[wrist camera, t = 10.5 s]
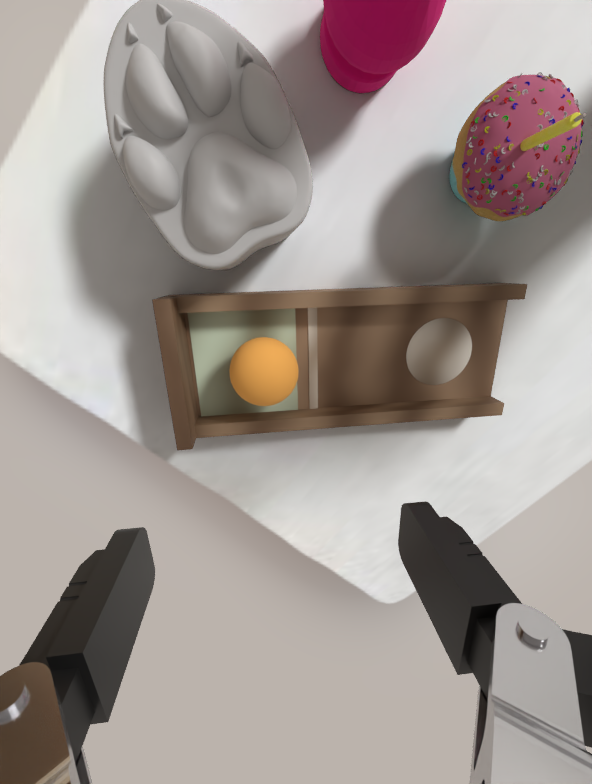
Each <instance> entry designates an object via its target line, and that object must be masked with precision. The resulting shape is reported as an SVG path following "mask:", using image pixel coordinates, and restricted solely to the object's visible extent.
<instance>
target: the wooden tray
mask: <svg viewBox="0 0 592 784" xmlns="http://www.w3.org/2000/svg"><path fill="white" fill-rule="evenodd" d="M526 288H527V284H511V283H491V284H463V285H435V286H407V287H379V288H351V289H323V290H295V291H267V292H239V293H211V294H183V295H168V296H164V297H160V298H157V299H153V300H152V301H153V307H154V313H155V319H156V325H157V331H158V337H159V343H160V349H161V355H162V361H163V367H164V373H165V379H166V385H167V391H168V397H169V403H170V409H171V415H172V421H173V427H174V433H175V439H176V445H177V450H187V449H192V448H193V446H194V443H195V440H196V438H202V437H215V436H229V435H242V434H255V433H269V432H282V431H295V430H309V429H322V428H335V427H348V426H362V425H375V424H388V423H402V422H415V421H428V420H442V419H455V418H468V417H482V416H495V415H502V412H503V407H504V403H502V402H501V401H499V400H497V399H495V398H493V397H491V391H492V385H493V379H494V374H495V368H496V363H497V357H498V351H499V346H500V340H501V335H502V329H503V323H504V318H505V312H506V306H507V301H508V300H513V299H525V293H526ZM259 337H268V338H273V339H276V340H279V341H281V342H282V343H284V344H285V345H286V346H288V348H289V349H290V350H291V351H292V352H293V354H294V356H295V358H296V360H297V364H298V370H299V373H298V380H297V383H296V386H295V388H294V390H293V391H292V393H291V394H290V395H289V396H288V397H287V398H286V399H284V400H283V401H281V402H280V403H277V404H275V405H271V406H258V405H254V404H251V403H249V402H247V401H245V400H244V399H242V398H241V397H240V396H239V395H238V394H237V392H236V391H235V389H234V388H233V386H232V383H231V380H230V373H229V369H230V363H231V360H232V357H233V355H234V354H235V352H236V351H237V349H238V348H239V347H240V346H241V345H242V344H244V343H245V342H247V341H249V340H251V339H254V338H259Z"/></svg>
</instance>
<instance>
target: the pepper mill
mask: <svg viewBox="0 0 592 784" xmlns="http://www.w3.org/2000/svg"><path fill="white" fill-rule="evenodd" d="M323 1H324V14H323V18H322V22H321V29H320V44H321V52H322V56H323V59H324V62H325V64H326V67H327V69H328V71H329V73H330V74H331V75H332V77H333V78H334V79H335V81H336V82H337V83H338V84H340V85H341V86H342V87H344V88H345V89H347V90H350V91H352V92H356V93H369V92H372V91H375V90H377V89H379V88H381V87H382V86H384V85H385V84H386V83H387V82H388V81H389V80H390V79H391V78H392V77H393V75H394V74H395V73H396V71H397V70H398V69H400V68H402V67H403V66H405V65H407V64H408V63H409V62H410V61H411V60H412V59H413V58H415V57H416V56H417V55H418V53H419V52H420V51H421V50H422V49H423V47H424V46H425V44H426V42H427V41H428V39H429V37H430V36H431V34H432V32H433V31H434V29H435V27H436V25H437V23H438V21H439V19H440V17H441V14H442V11H443V8H444V5H445V2H446V0H323Z"/></svg>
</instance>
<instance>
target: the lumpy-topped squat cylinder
mask: <svg viewBox="0 0 592 784" xmlns="http://www.w3.org/2000/svg"><path fill="white" fill-rule="evenodd" d="M104 99H105V110H106V119H107V126H108V133H109V138H110V143H111V146H112V149H113V152H114V154H115V157H116V159H117V161H118V163H119V165H120V167H121V169H122V171H123V173H124V175H125V177H126V179H127V181H128V183H129V185H130V187H131V189H132V190H133V192H134V194H135V196H136V197H137V199H138V201H139V202H140V204H141V206H142V207H143V209H144V210H145V212H146V213H147V215H148V216H149V218H150V219H151V220H152V222H153V223H154V224H155V226H156V227H157V229H158V230H159V231H160V233H161V234H162V236H163V237H164V238H165V240H166V241H167V242H168V244H169V245H170V246H171V247H172V248H173V249H174V250H175V252H177V253H178V254H179V255H180V256H181V257H182V258H183V259H185V260H187V261H188V262H190V263H192V264H194V265H196V266H199V267H202V268H206V269H212V270H228V269H231V268H234V267H236V266H237V265H239V264H240V263H242V262H243V261H244V260H246V259H247V258H248V257H249V256H250V255H252V254H253V253H255V252H256V251H258V250H260V249H262V248H264V247H267V246H270V245H273V244H276V243H278V242H280V241H282V240H284V239H286V238H287V237H288V236H289V235H290V234H291V233H292V232H293V231H294V230H295V229H296V228H297V227H298V226H299V225H300V224H301V223H302V222H303V220H304V219H305V217H306V215H307V212H308V210H309V207H310V203H311V198H312V190H313V180H312V171H311V166H310V162H309V159H308V155H307V152H306V149H305V146H304V143H303V140H302V137H301V133H300V130H299V127H298V124H297V122H296V119H295V117H294V114H293V112H292V110H291V107H290V105H289V103H288V101H287V99H286V96H285V94H284V92H283V90H282V87H281V85H280V83H279V81H278V80H277V78H276V75H275V74H274V72H273V70H272V68H271V66H270V65H269V63H268V62H267V60H266V59H265V57H264V56H263V55H262V54H261V53H260V52H259V51H258V49H257V48H256V47H255V46H254V45H252V44H251V43H250V42H249V41H248V40H247V39H246V38H245V37H244V36H243V35H242V34H241V33H239V32H238V31H237V30H236V29H235V28H234V27H232V26H231V25H230V24H229V23H227V22H226V21H225V20H224V19H222V18H221V17H220V16H218V15H217V14H215V13H214V12H212V11H210V10H208V9H207V8H204V7H202V6H200V5H198V4H195V3H193V2H190V1H187V0H140V1H138V2H137V3H135V4H134V5H133V6H131V7H130V8H129V9H128V10H127V11H126V12H125V14H124V15H123V16H122V18H121V19H120V21H119V22H118V24H117V26H116V28H115V31H114V33H113V36H112V39H111V42H110V45H109V49H108V53H107V57H106V62H105V68H104Z"/></svg>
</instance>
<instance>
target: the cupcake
mask: <svg viewBox="0 0 592 784" xmlns="http://www.w3.org/2000/svg"><path fill="white" fill-rule="evenodd" d="M522 74H523V73H521V75H520V76H515V77H512V78H510V79H509V80H508V81H507V82H505V83H503V84H502V85H500V86H499V87H498V88H497V89H495V90H494V91H493V92H492V93H490V94H489V95H488V96H487V97H486V98H485V99H484V100H483V101H482V102H481V103H480V104H479V105H478V106H477V107H476V108H475V109H474V111H473V112H472V113H471V114H470V116H469V117H468V119H467V120H466V122H465V124H464V125H463V127H462V129H461V131H460V133H459V135H458V138H457V142H456V148H455V153H454V157H453V161H452V164H451V168H450V185H451V188H452V191H453V192H454V194H455V196H456V197H457V198H458V199H459V200H460V201H462V202H464V203H466V204H468V205H469V206H470V208H471V209H472V210H473V211H474V213H476V214H477V215H479V216H481V217H485V218H488V219H491V220H494V221H506V220H510V219H513V218H516V217H519V216H521V215H525V216H526V215H529V214H531V213H533V212H534V211H537V210H538V209H541V208H542V207H543V205H544V204H546V202H548V201H549V200H550V199H551V198H552V197H553V196H554V195H556V194H557V193H558V191H559V190H560V189H561V188H562V186H564V185H565V184H566V182H567V180H568V176H569V175H571V173H572V171H573V170H572V168H573V165H574V164H576V161H575V160H576V157H577V154H579V152H580V150H579V149H580V147H579V146H580V145H581V143H582V140H581V137H582V129H581V128H582V126H583V124H584V122H583V120H582V119H583V118H584V117H585V116H586V113H583V114H581V113H579V112H580V111H579V108H578V106H579V104H578V100H577V99H576V100H574V98H573V97H574V95H573V94H572V93H570V89H569V88H568V89H567V88H566V86H565V85H564V84H563V82H562V81H561V80H560V79H556V78H553V77H552V75H551V74H549V77H547V76H543V74H542V73H541V72H539V73H538V74H537V75H522ZM539 74H540V75H539ZM570 172H571V173H570Z"/></svg>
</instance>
